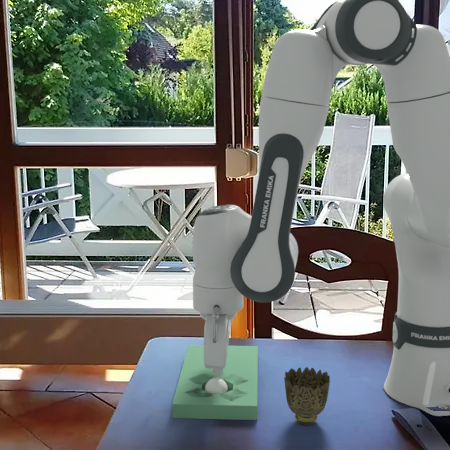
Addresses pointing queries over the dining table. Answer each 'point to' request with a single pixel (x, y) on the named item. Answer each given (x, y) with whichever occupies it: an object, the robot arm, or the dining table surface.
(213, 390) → the ball
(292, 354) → the dining table surface
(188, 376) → the putting mat
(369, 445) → the dining table surface
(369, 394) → the dining table surface
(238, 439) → the dining table surface
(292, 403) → the cup
